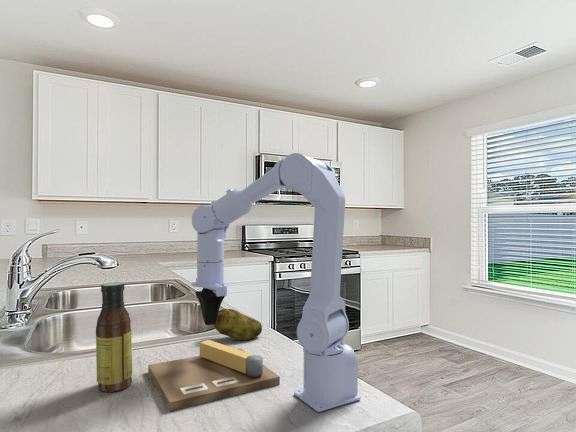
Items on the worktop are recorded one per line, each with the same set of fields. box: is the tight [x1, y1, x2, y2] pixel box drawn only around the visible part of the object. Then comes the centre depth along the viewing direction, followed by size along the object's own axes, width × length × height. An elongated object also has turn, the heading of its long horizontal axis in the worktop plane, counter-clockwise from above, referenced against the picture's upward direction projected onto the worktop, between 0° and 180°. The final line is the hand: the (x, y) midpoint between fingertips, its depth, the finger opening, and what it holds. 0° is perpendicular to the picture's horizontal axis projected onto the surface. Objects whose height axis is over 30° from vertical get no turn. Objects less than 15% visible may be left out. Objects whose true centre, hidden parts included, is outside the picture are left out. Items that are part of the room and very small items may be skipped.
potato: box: [213, 308, 263, 341], centre depth 103 cm, size 8×13×8 cm, turn 81°
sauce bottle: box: [95, 281, 133, 393], centre depth 72 cm, size 7×6×20 cm
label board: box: [147, 348, 281, 412], centre depth 76 cm, size 21×19×2 cm
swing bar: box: [199, 339, 264, 377], centre depth 79 cm, size 18×3×3 cm, turn 50°
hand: (210, 324), depth 82 cm, fingers closed
